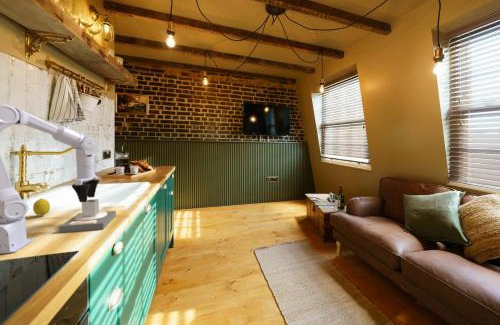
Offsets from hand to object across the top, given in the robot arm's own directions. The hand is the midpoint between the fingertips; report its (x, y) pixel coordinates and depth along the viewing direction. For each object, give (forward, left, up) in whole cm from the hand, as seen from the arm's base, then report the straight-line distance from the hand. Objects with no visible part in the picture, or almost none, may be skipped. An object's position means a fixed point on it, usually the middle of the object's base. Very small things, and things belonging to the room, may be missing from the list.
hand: (87, 199), depth 93 cm
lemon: (+14, +23, -10) cm, 29 cm away
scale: (-1, -1, -10) cm, 10 cm away
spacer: (0, -1, -7) cm, 7 cm away
